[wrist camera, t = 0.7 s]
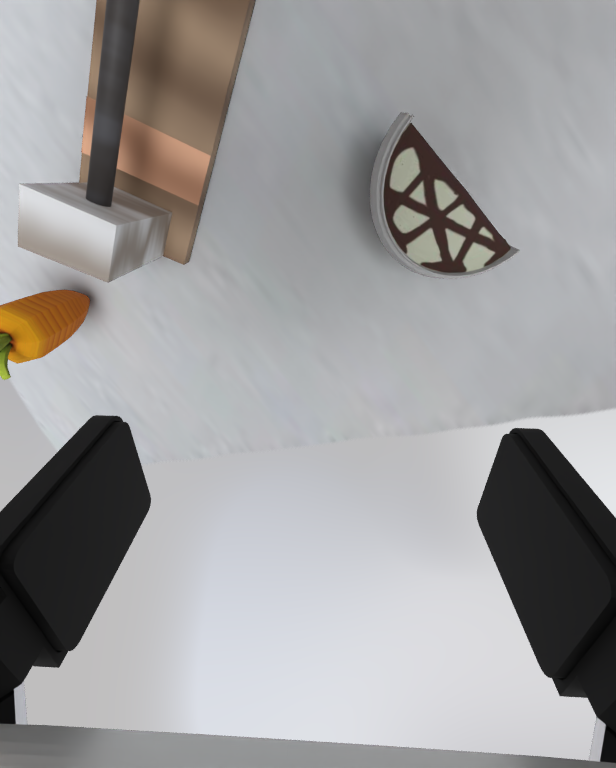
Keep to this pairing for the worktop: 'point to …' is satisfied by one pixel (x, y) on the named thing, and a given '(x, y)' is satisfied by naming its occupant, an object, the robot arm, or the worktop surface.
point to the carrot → (38, 325)
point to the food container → (429, 211)
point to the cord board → (142, 137)
